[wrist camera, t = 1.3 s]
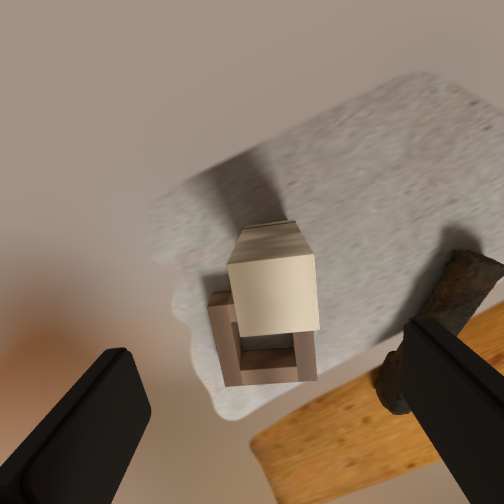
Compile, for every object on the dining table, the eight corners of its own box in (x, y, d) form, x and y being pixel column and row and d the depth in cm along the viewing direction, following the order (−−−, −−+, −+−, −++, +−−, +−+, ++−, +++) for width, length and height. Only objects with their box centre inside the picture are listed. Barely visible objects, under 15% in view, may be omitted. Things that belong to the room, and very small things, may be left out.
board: (305, 282, 26) (310, 296, 23) (312, 359, 29) (317, 380, 26) (213, 292, 27) (207, 306, 24) (229, 366, 30) (225, 386, 27)
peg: (291, 215, 24) (314, 252, 12) (296, 259, 25) (320, 330, 14) (245, 221, 24) (225, 263, 13) (252, 264, 25) (239, 337, 14)
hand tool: (449, 241, 24) (490, 256, 19) (485, 256, 24) (534, 274, 20) (354, 380, 30) (369, 416, 25) (384, 391, 30) (403, 429, 25)
